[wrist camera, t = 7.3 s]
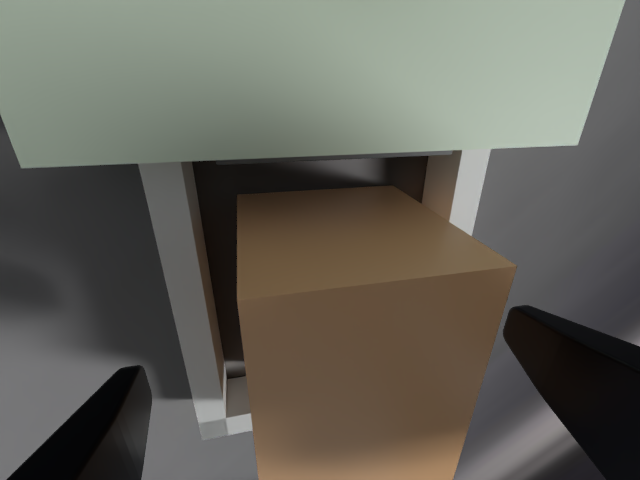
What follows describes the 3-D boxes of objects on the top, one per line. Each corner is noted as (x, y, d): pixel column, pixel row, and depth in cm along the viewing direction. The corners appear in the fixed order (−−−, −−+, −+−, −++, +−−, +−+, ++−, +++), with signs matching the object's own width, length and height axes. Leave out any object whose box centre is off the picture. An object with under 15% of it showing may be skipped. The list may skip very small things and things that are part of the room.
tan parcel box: (375, 340, 12) (452, 481, 8) (254, 359, 11) (265, 531, 7) (391, 184, 10) (517, 266, 5) (236, 193, 9) (236, 300, 5)
